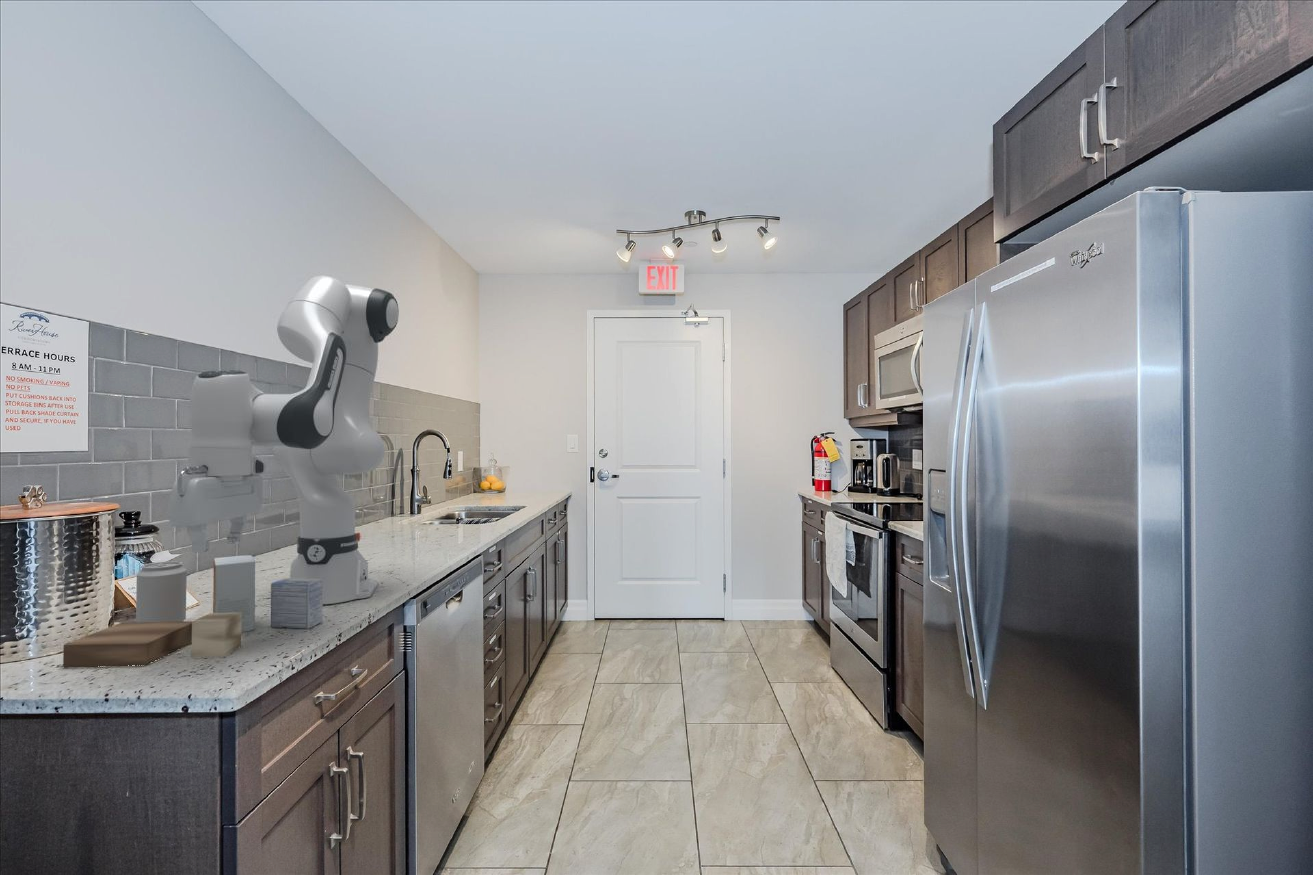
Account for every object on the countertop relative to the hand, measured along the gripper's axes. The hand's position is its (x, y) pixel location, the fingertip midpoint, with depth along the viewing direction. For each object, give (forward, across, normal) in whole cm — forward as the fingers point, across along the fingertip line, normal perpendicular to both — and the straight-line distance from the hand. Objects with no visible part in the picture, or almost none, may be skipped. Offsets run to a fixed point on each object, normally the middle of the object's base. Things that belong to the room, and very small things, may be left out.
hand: (218, 547), depth 104 cm
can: (+18, +16, +19) cm, 31 cm away
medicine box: (+18, +15, -6) cm, 24 cm away
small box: (+18, +14, +5) cm, 23 cm away
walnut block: (+18, 0, +13) cm, 22 cm away
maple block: (+18, 0, 0) cm, 18 cm away
